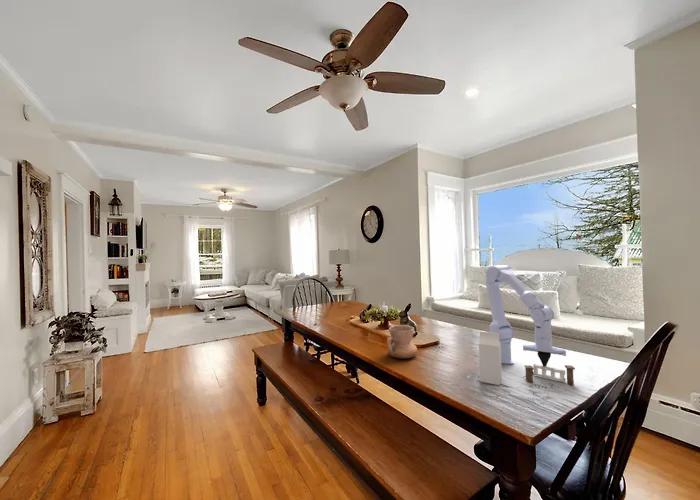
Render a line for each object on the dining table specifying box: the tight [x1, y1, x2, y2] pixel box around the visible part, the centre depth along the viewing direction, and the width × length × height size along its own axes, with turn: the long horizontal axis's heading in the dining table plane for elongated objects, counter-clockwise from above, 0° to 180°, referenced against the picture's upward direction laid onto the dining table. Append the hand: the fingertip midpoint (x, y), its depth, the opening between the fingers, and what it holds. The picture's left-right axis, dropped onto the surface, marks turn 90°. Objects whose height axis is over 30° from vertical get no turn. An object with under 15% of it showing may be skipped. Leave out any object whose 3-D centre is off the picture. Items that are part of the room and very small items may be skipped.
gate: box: [532, 363, 567, 383], centre depth 118 cm, size 10×1×4 cm, turn 45°
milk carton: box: [478, 331, 503, 386], centre depth 119 cm, size 7×7×19 cm
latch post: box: [524, 364, 535, 383], centre depth 117 cm, size 2×2×6 cm
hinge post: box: [564, 364, 576, 386], centre depth 113 cm, size 2×2×7 cm
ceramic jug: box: [386, 324, 418, 360], centre depth 149 cm, size 18×14×14 cm
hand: (544, 370), depth 121 cm, fingers closed, pressing on gate
